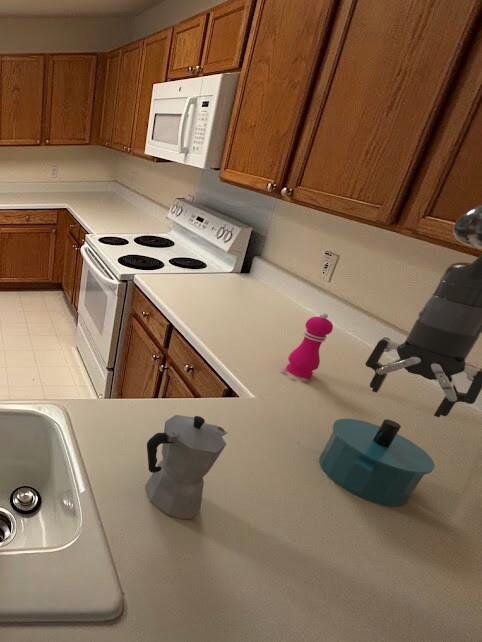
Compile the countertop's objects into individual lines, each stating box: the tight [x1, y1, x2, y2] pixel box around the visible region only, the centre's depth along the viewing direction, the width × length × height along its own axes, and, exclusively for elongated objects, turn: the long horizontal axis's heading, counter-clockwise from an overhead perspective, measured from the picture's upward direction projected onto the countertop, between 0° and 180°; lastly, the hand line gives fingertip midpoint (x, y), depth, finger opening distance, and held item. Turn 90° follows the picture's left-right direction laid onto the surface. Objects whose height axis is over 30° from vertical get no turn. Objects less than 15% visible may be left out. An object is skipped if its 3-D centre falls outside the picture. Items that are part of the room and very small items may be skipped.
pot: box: [319, 431, 425, 508], centre depth 82 cm, size 14×19×8 cm
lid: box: [331, 418, 435, 476], centre depth 79 cm, size 15×15×6 cm
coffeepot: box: [145, 414, 228, 520], centre depth 71 cm, size 15×9×18 cm, turn 105°
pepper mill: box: [285, 312, 334, 379], centre depth 118 cm, size 7×7×20 cm
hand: (404, 402), depth 76 cm, fingers open, 8 cm apart
